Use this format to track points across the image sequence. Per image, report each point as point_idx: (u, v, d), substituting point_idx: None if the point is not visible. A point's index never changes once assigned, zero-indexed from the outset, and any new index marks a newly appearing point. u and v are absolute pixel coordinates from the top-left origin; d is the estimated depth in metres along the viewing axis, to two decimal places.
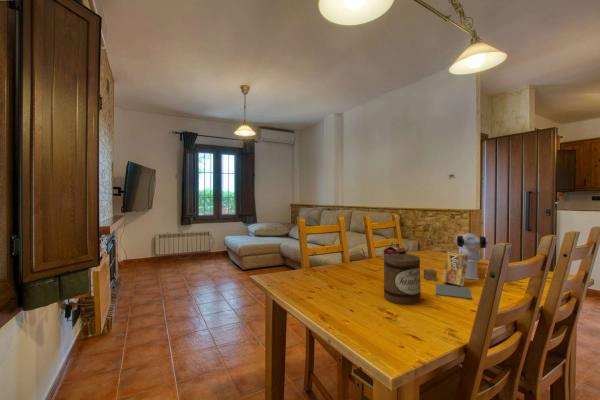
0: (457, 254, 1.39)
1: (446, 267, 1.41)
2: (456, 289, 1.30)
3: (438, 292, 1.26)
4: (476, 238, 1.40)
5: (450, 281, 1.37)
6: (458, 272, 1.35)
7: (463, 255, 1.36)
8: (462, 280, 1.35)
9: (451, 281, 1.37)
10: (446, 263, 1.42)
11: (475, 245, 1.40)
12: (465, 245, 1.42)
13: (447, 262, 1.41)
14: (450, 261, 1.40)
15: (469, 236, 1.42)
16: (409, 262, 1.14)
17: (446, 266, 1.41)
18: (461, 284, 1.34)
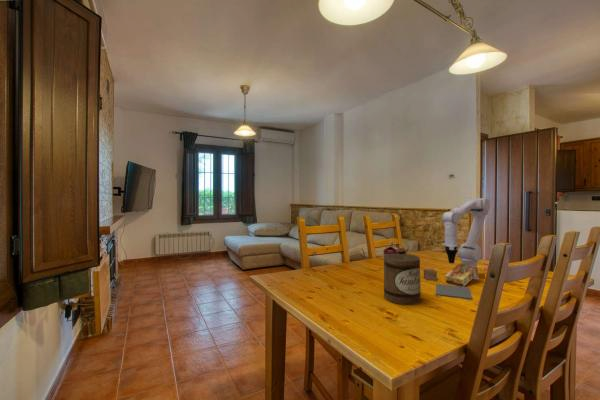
0: (469, 265, 1.45)
1: (454, 269, 1.44)
2: (456, 289, 1.30)
3: (438, 292, 1.26)
4: None
5: (454, 276, 1.38)
6: (466, 273, 1.39)
7: (475, 266, 1.42)
8: (465, 280, 1.36)
9: (455, 276, 1.38)
10: (454, 268, 1.46)
11: None
12: None
13: (456, 267, 1.46)
14: (460, 267, 1.45)
15: None
16: (409, 262, 1.14)
17: (454, 269, 1.45)
18: (463, 282, 1.35)
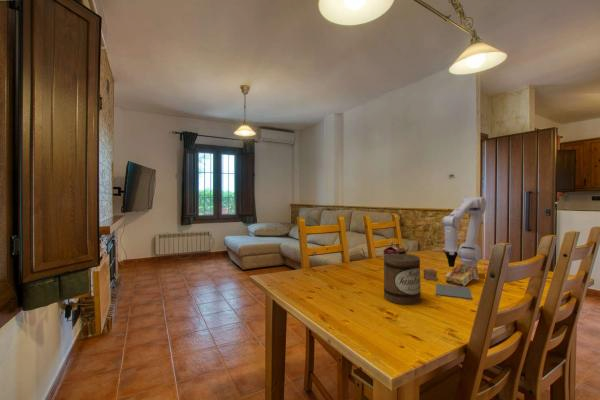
0: (469, 265, 1.45)
1: (454, 269, 1.44)
2: (456, 289, 1.30)
3: (438, 292, 1.26)
4: (447, 250, 1.40)
5: (454, 276, 1.38)
6: (466, 273, 1.39)
7: (475, 266, 1.42)
8: (465, 280, 1.36)
9: (455, 276, 1.38)
10: (454, 268, 1.46)
11: (455, 250, 1.39)
12: None
13: (456, 267, 1.46)
14: (460, 267, 1.45)
15: None
16: (409, 262, 1.14)
17: (454, 269, 1.45)
18: (463, 282, 1.35)
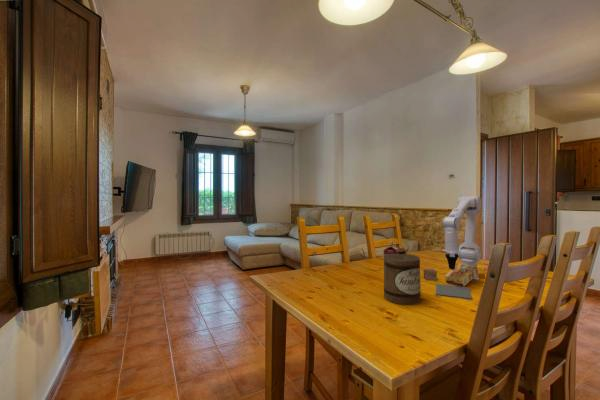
0: (469, 265, 1.45)
1: (454, 269, 1.44)
2: (456, 289, 1.30)
3: (438, 292, 1.26)
4: (447, 252, 1.35)
5: (454, 276, 1.38)
6: (466, 273, 1.39)
7: (475, 266, 1.42)
8: (465, 280, 1.36)
9: (455, 276, 1.38)
10: None
11: (456, 252, 1.34)
12: None
13: (456, 267, 1.46)
14: (460, 267, 1.45)
15: None
16: (409, 262, 1.14)
17: (454, 269, 1.45)
18: (463, 282, 1.35)
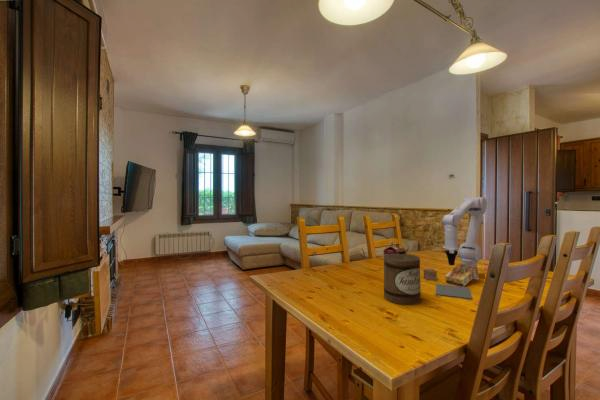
0: (469, 265, 1.45)
1: (454, 269, 1.44)
2: (456, 289, 1.30)
3: (438, 292, 1.26)
4: None
5: (454, 276, 1.38)
6: (466, 273, 1.39)
7: (475, 266, 1.42)
8: (465, 280, 1.36)
9: (455, 276, 1.38)
10: (454, 268, 1.46)
11: None
12: None
13: (456, 267, 1.46)
14: (460, 267, 1.45)
15: None
16: (409, 262, 1.14)
17: (454, 269, 1.45)
18: (463, 282, 1.35)
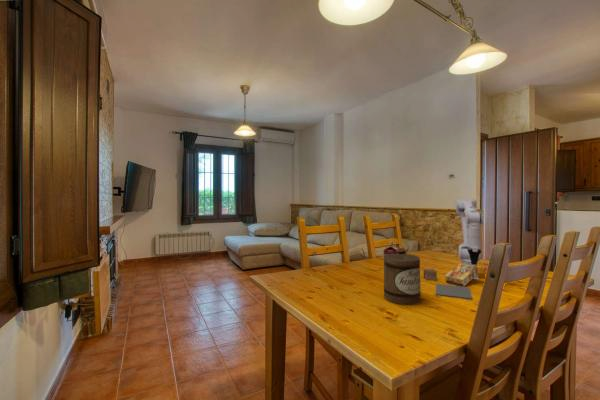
0: (469, 265, 1.45)
1: (454, 269, 1.44)
2: (456, 289, 1.30)
3: (438, 292, 1.26)
4: (470, 247, 1.36)
5: (454, 276, 1.38)
6: (466, 273, 1.39)
7: (475, 266, 1.42)
8: (465, 280, 1.36)
9: (455, 276, 1.38)
10: (454, 268, 1.46)
11: (478, 248, 1.35)
12: None
13: (456, 267, 1.46)
14: (460, 267, 1.45)
15: None
16: (409, 262, 1.14)
17: (454, 269, 1.45)
18: (463, 282, 1.35)
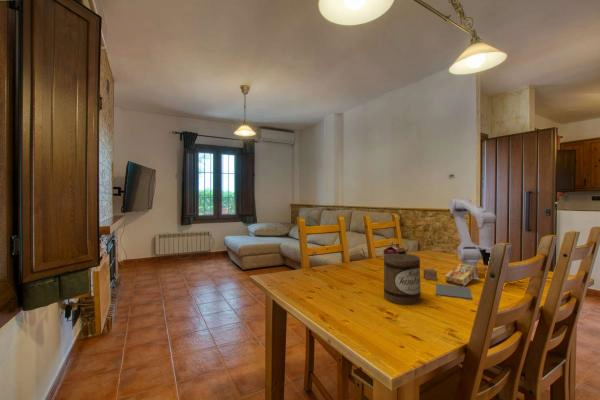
0: (469, 265, 1.45)
1: (454, 269, 1.44)
2: (456, 289, 1.30)
3: (438, 292, 1.26)
4: None
5: (454, 276, 1.38)
6: (466, 273, 1.39)
7: (475, 266, 1.42)
8: (465, 280, 1.36)
9: (455, 276, 1.38)
10: (454, 268, 1.46)
11: (491, 248, 1.33)
12: None
13: (456, 267, 1.46)
14: (460, 267, 1.45)
15: None
16: (409, 262, 1.14)
17: (454, 269, 1.45)
18: (463, 282, 1.35)
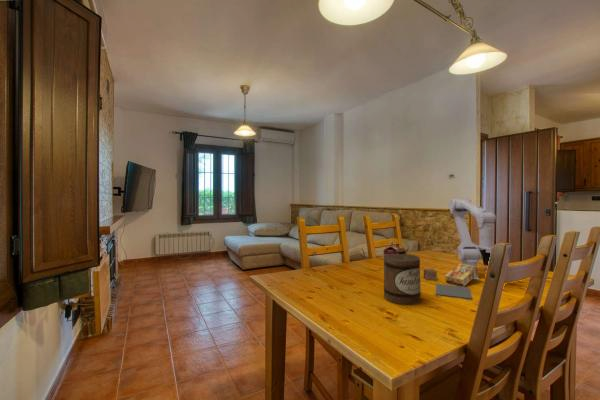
0: (469, 265, 1.45)
1: (454, 269, 1.44)
2: (456, 289, 1.30)
3: (438, 292, 1.26)
4: None
5: (454, 276, 1.38)
6: (466, 273, 1.39)
7: (475, 266, 1.42)
8: (465, 280, 1.36)
9: (455, 276, 1.38)
10: (454, 268, 1.46)
11: (491, 248, 1.33)
12: None
13: (456, 267, 1.46)
14: (460, 267, 1.45)
15: None
16: (409, 262, 1.14)
17: (454, 269, 1.45)
18: (463, 282, 1.35)
